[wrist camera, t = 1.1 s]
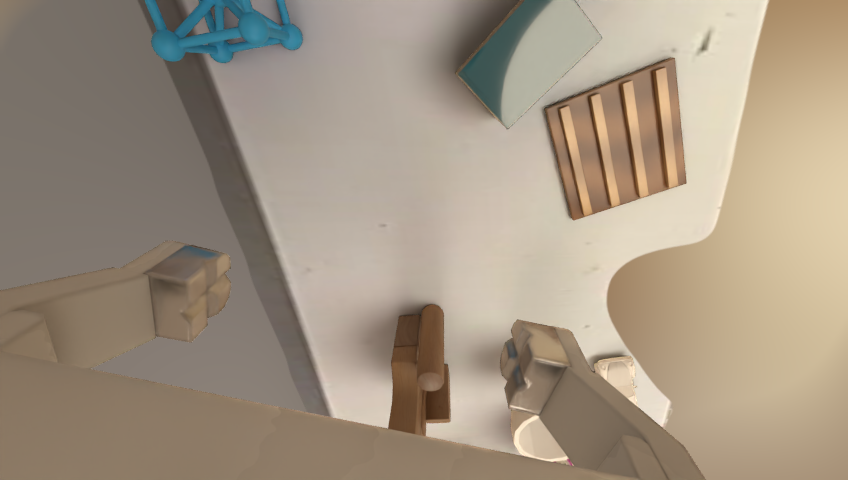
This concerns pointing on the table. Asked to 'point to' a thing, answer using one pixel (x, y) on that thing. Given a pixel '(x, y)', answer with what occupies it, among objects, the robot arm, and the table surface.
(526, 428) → the foam cup
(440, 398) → the wooden toy
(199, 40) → the molecular structure
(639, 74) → the drying rack
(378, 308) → the table surface
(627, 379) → the car
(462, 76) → the mirrored box
